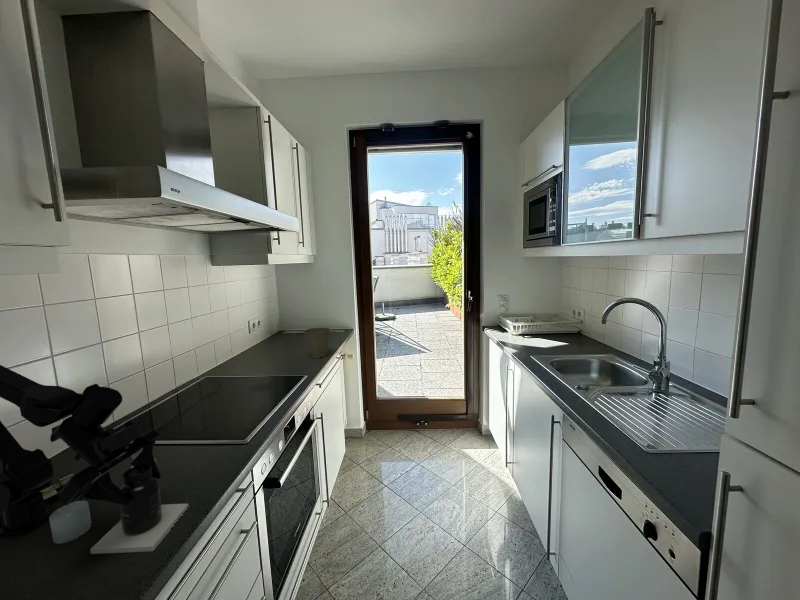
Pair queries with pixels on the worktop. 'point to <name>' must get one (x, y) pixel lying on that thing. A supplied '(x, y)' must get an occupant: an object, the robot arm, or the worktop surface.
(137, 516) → the supplement bottle
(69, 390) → the robot arm
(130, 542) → the plate
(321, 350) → the plant pot
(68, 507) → the blue-grey rounded cylinder
